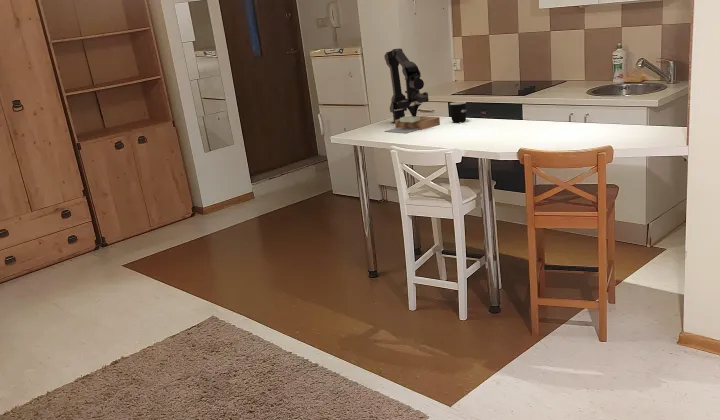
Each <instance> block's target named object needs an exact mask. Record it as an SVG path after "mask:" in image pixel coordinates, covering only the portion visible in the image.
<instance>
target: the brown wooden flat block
mask: <svg viewBox="0 0 720 420" xmlns="http://www.w3.org/2000/svg"><path fill="white" fill-rule="evenodd" d="M416 116H417V117H420V121H416V122H400V119H398V120H395V123H394V125H395V126H394V128H398V127H403V128H416V129H420V130H425V129H429V128H433V127H436V126H439V125H441V123H440V122H441V119H440V117H439V116H427V115H426V116H424V115H423V116H422V115H416Z"/></svg>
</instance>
